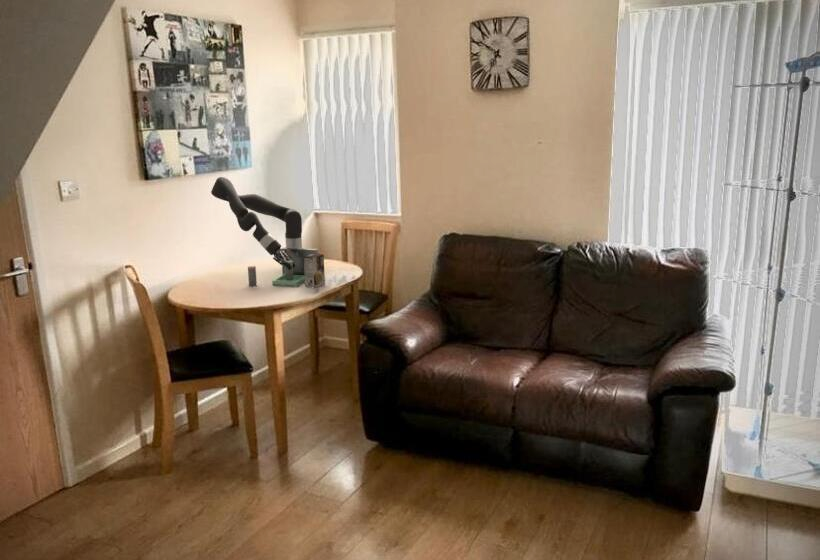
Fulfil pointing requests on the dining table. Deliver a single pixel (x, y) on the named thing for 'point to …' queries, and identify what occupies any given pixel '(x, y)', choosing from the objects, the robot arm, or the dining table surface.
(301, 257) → the label unit
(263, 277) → the dining table surface
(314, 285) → the coffee box
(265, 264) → the dining table surface
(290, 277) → the green-capped canister
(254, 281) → the terracotta-capped canister
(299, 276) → the green tray
